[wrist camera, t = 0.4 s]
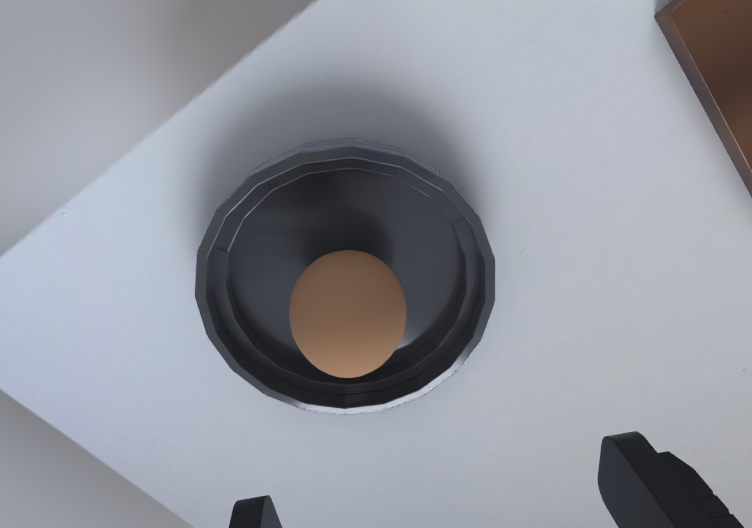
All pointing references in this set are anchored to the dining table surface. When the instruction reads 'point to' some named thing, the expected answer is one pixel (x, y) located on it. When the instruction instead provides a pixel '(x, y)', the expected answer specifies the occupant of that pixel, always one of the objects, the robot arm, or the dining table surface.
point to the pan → (337, 233)
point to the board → (717, 67)
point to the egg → (347, 313)
